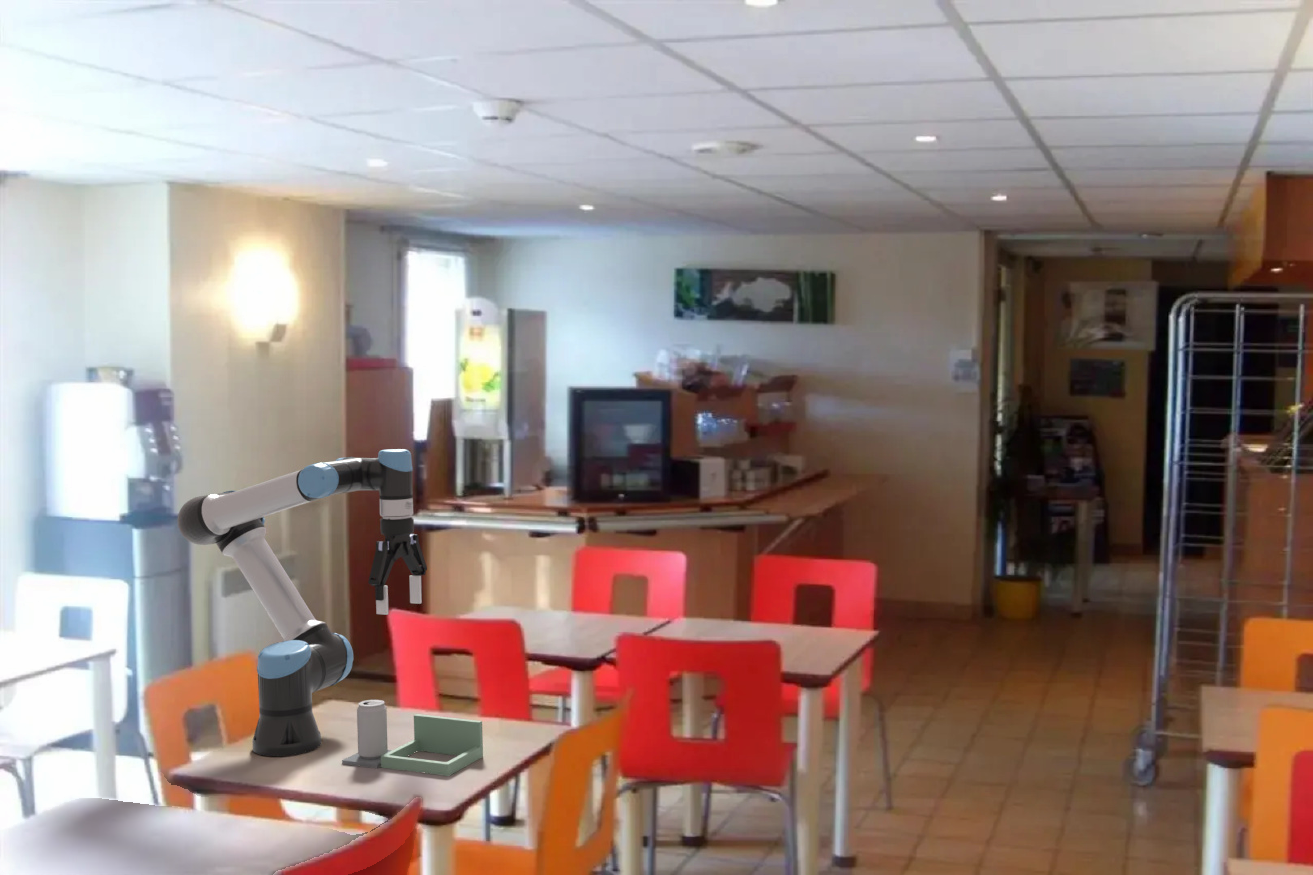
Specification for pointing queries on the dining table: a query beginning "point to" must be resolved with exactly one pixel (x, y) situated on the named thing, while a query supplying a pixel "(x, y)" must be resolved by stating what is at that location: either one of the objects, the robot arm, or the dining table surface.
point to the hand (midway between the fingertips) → (399, 608)
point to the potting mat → (362, 761)
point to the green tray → (438, 745)
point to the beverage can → (372, 729)
